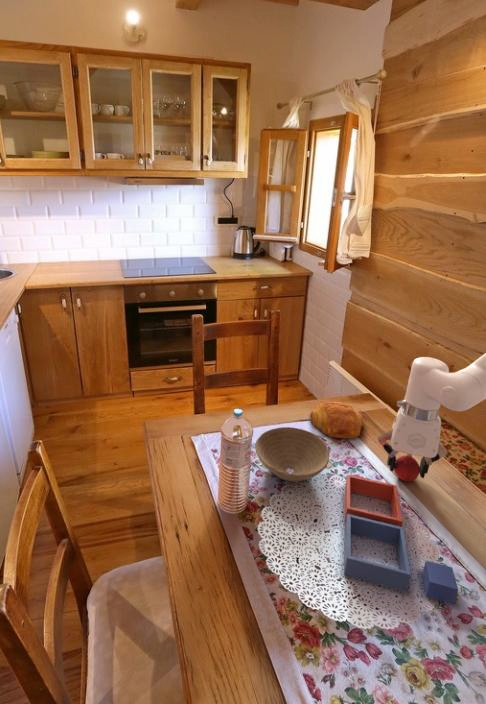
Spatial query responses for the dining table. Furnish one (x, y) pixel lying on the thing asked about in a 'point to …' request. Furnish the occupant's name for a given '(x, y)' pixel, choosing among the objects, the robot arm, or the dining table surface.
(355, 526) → the blue bin
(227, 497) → the water bottle
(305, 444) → the bowl
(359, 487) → the terracotta bin
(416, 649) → the dining table surface
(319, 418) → the croissant
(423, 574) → the blue block
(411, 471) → the onion
